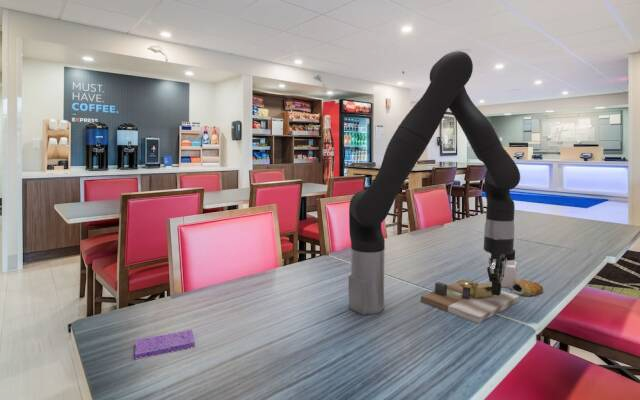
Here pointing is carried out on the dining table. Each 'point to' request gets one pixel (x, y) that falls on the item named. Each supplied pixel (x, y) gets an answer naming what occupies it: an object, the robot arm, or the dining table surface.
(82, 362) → the dining table surface
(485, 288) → the latch bar
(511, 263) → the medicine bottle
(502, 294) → the door board
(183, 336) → the sponges
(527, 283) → the pastry
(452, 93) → the robot arm
